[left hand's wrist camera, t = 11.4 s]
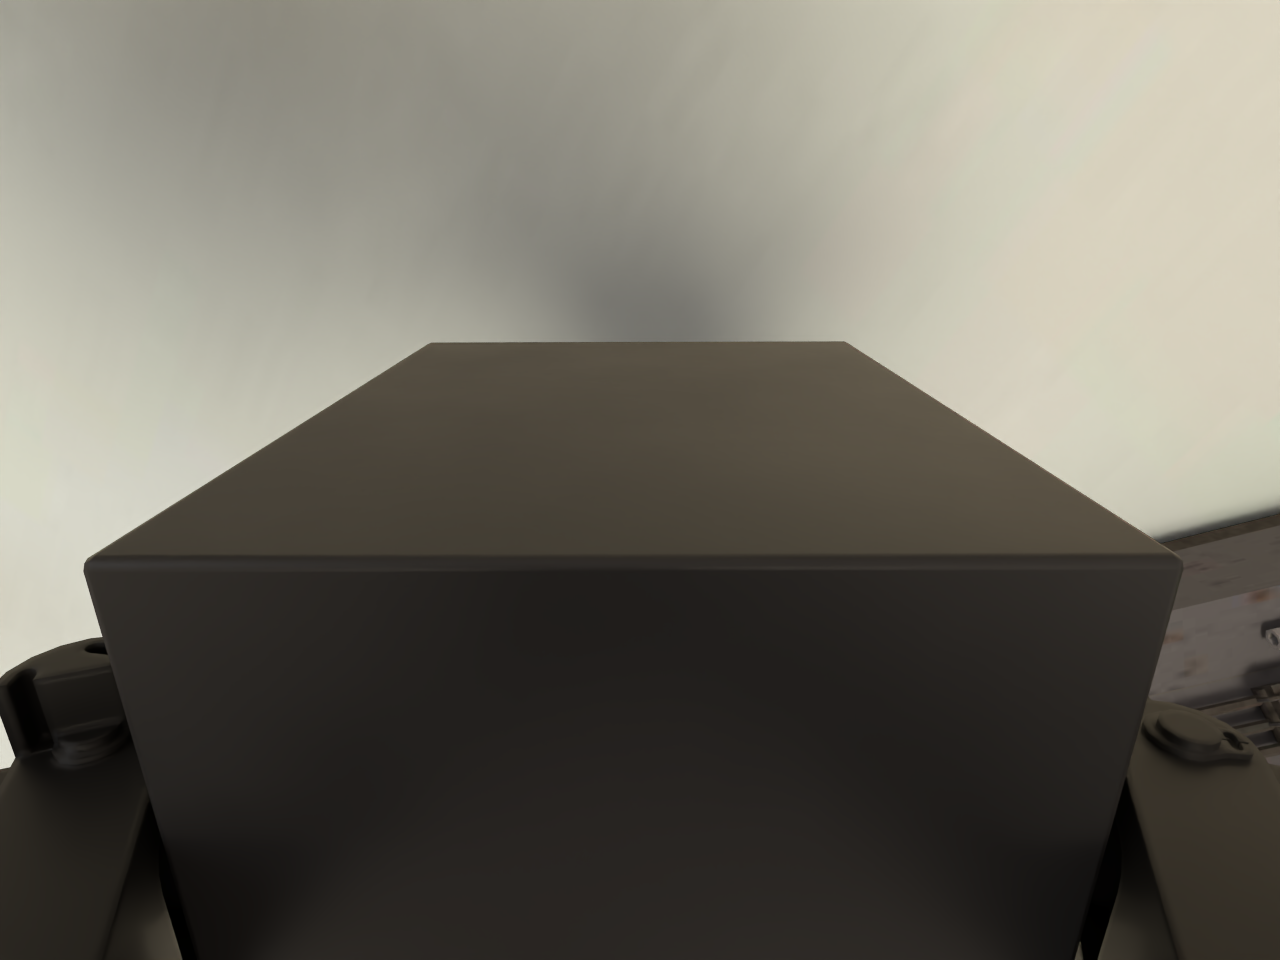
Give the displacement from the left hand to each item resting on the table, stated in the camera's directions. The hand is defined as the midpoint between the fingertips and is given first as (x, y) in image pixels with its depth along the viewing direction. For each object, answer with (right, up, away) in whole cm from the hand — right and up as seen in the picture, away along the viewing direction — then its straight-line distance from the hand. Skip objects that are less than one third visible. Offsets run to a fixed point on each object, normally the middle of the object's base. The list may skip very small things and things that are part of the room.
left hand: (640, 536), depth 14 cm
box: (0, -10, +4) cm, 11 cm away
